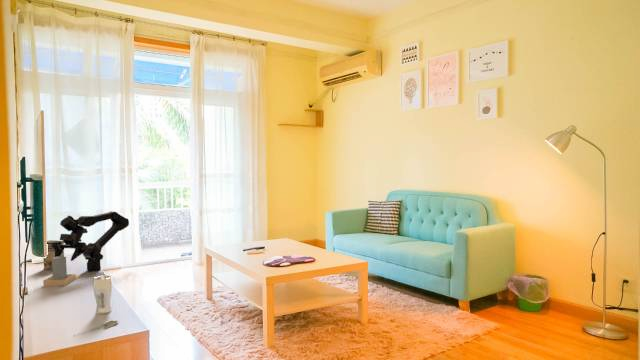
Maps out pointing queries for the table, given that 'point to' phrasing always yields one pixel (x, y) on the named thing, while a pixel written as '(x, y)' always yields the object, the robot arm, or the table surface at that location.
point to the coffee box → (51, 255)
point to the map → (108, 324)
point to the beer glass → (102, 294)
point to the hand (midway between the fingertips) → (63, 260)
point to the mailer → (60, 281)
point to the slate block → (59, 268)
